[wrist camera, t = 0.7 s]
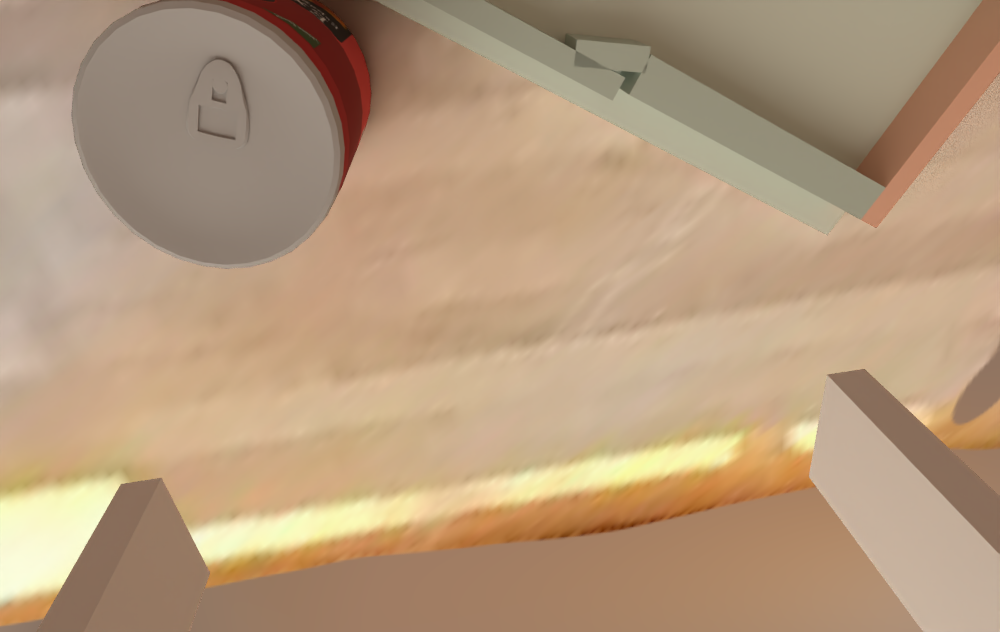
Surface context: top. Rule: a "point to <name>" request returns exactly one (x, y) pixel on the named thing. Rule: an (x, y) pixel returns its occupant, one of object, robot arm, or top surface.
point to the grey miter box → (755, 83)
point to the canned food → (221, 124)
